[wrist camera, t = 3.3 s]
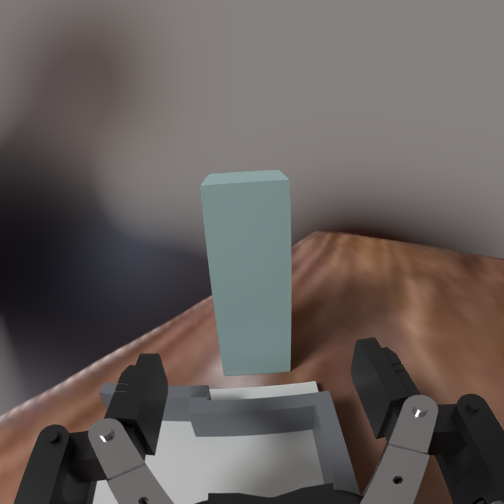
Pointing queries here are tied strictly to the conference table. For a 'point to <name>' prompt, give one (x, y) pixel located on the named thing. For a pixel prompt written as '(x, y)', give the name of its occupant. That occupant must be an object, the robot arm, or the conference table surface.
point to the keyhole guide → (244, 442)
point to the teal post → (250, 268)
